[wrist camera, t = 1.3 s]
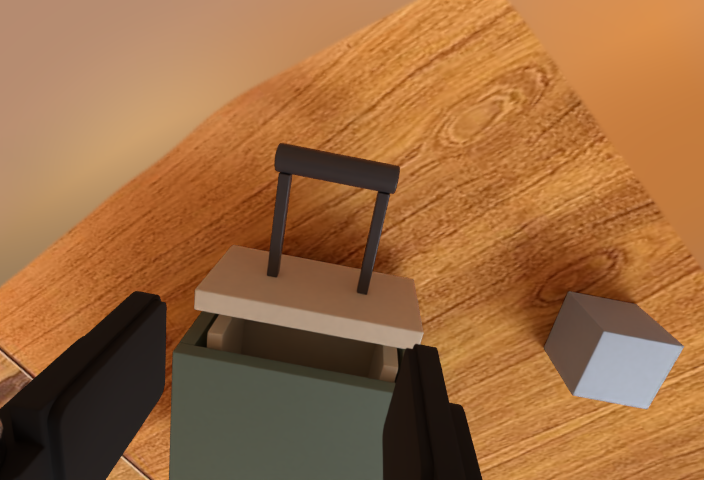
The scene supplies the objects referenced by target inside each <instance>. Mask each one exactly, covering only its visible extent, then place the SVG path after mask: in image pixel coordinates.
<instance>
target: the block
mask: <svg viewBox="0 0 704 480" xmlns="http://www.w3.org/2000/svg"><path fill="white" fill-rule="evenodd" d="M683 347H684V346H683V345H682V344H681V343H680V342H679V341H677V340H676V339H675V338H674V337H673V336H672V335H671V334H669V333H668V332H667V331H666V330H665V329H664V328H663V327H662V326H660V325H659V324H658V323H657V322H656V321H655V320H654V319H652V318H651V317H650V316H649V315H648V314H647V313H646V312H645V311H643V310H642V309H641V308H640V307H639V306H638V305H637V304H633V303H627V302H622V301H617V300H612V299H607V298H601V297H596V296H591V295H586V294H581V293H575V292H570V291H568V293H567V295H566V298H565V300H564V302H563V305H562V307H561V309H560V312H559V314H558V316H557V319H556V321H555V323H554V325H553V328H552V330H551V332H550V335H549V337H548V339H547V342H546V344H545V346H544V350H545V351H546V353H547V355H548V356H549V358H550V359H551V361H552V363H553V364H554V366H555V368H556V369H557V371H558V373H559V374H560V376H561V377H562V379H563V381H564V382H565V384H566V386H567V387H568V389H569V391H570V392H571V394H572V395H574V396H579V397H584V398H590V399H595V400H600V401H606V402H611V403H616V404H622V405H627V406H632V407H638V408H643V409H648V407H649V406H650V404H651V402H652V400H653V399H654V397H655V395H656V394H657V392H658V390H659V389H660V387H661V385H662V383H663V382H664V380H665V378H666V377H667V375H668V373H669V371H670V370H671V368H672V366H673V365H674V363H675V361H676V359H677V358H678V356H679V354H680V353H681V351H682V349H683Z"/></svg>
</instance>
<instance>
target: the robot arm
mask: <svg viewBox="0 0 704 480" xmlns="http://www.w3.org/2000/svg"><path fill="white" fill-rule="evenodd" d="M166 310H167V307H166V303H165V302H162V301H161V299H160V296H159V295H155V294H150V293H144V292H139V291H135V292H133V293H132V294H131V295H130V296H129V297H127V298H126V299H125V300H124V301H123V302H122V303H121V304H120V305H119V306H117V307H116V308H115V309H114V310H113V311H112V312H111V313H110V314H109V315H108V316H106V317H105V318H104V319H103V320H102V321H101V322H100V323H99V324H98V325H96V326H95V327H94V328H93V329H92V330H91V331H90V332H89V333H88V334H86V335H85V336H83V337H81V338H80V339H78V340H77V341H76V342H75V343H74V344H72V345H71V346H70V347H69V348H68V349H67V350H66V351H65V352H63V353H62V354H61V355H60V356H59V357H58V358H57V359H56V360H54V361H53V362H52V363H51V364H50V365H49V366H48V367H47V368H46V369H44V370H43V371H42V372H41V373H40V374H39V375H38V376H37V377H35V378H34V379H33V380H32V381H31V382H30V383H29V384H28V385H26V386H25V387H24V388H23V389H22V390H21V391H20V392H19V393H17V394H16V395H15V396H14V397H13V398H12V399H11V400H10V401H9V402H7V403H6V404H5V405H4V406H3V407H2V408H1V409H0V480H106V478H107V477H108V475H109V474H110V472H111V471H112V469H113V468H114V466H115V465H116V463H117V462H118V460H119V459H120V457H121V456H122V454H123V453H124V451H125V450H126V448H127V447H128V445H129V444H130V442H131V441H132V439H133V438H134V436H135V435H136V433H137V432H138V430H139V429H140V427H141V426H142V424H143V423H144V421H145V420H146V418H147V417H148V415H149V414H150V412H151V411H152V409H153V408H154V406H155V405H156V403H157V402H158V400H159V399H160V397H161V395H162V393H163V390H164V386H165V359H166ZM382 448H383V480H482V476H481V472H480V469H479V465H478V461H477V457H476V453H475V449H474V446H473V442H472V438H471V434H470V430H469V427H468V423H467V419H466V415H465V412H464V409H463V407H462V406H461V405H459V404H453V403H449V400H448V395H447V391H446V386H445V382H444V377H443V373H442V368H441V364H440V359H439V355H438V350H437V348H436V347H430V346H425V345H420V344H415V345H414V346H413V349H411V348H406V350H405V352H404V356H403V359H402V363H401V366H400V370H399V374H398V377H397V381H396V384H395V388H394V391H393V395H392V398H391V402H390V405H389V409H388V412H387V416H386V419H385V423H384V428H383V436H382Z"/></svg>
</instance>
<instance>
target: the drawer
mask: <svg viewBox="0 0 704 480" xmlns="http://www.w3.org/2000/svg"><path fill="white" fill-rule="evenodd" d="M275 170H276V171H278V172H280V173H279V177H278V185H277V194H276V202H275V210H274V218H273V226H272V235H271V243H270V251H269V252H268V251H263V250H258V249H253V248H247V247H242V246H237V245H232V246H231V247H230V248H229V250H228V251H227V252H226V253H225V254H224V255H223V257H222V258H221V259H220V260H219V261H218V263H217V264H216V265H215V266H214V267H213V269H212V270H211V271H210V272H209V273H208V274H207V276H206V277H205V278H204V279H203V280H202V282H201V283H200V284H199V285H198V286H197V288H196V289H195V298H194V309H195V310H200V311H206V312H211V313H216V314H219V316H218V317H217V319H216V320H215V322H214V323H213V325H212V326H211V328H210V330H209V331H208V335H207V348H210V349H215V350H221V351H226V352H232V353H237V354H242V355H248V356H253V357H258V358H264V359H269V360H274V361H280V362H285V363H290V364H296V365H301V366H307V367H312V368H317V369H323V370H328V371H333V372H339V373H344V374H349V375H355V376H360V377H365V378H371V379H376V380H381V381H387V382H392V383H394V381H395V378H396V374H397V371H398V358H397V348H402V349H406V348H411V349H413V346H414V345H415V344H420V343H421V340H422V336H423V328H422V322H421V317H420V311H419V306H418V300H417V295H416V290H415V284H414V280H413V279H409V278H404V277H399V276H394V275H388V274H383V273H378V272H373V267H374V263H375V258H376V254H377V249H378V245H379V241H380V236H381V232H382V227H383V223H384V219H385V214H386V210H387V206H388V201H389V197H390V194H394V193H395V191H396V187H397V183H398V179H399V173H400V167H399V166H396V165H391V164H386V163H381V162H376V161H371V160H366V159H361V158H355V157H350V156H345V155H340V154H335V153H330V152H325V151H320V150H315V149H310V148H305V147H300V146H294V145H289V144H284V143H280V144H279V145H278V148H277V151H276V155H275ZM292 174H293V175H298V176H303V177H308V178H313V179H319V180H324V181H329V182H334V183H339V184H344V185H349V186H354V187H360V188H365V189H370V190H375V191H378V193H377V197H376V202H375V207H374V211H373V216H372V221H371V225H370V230H369V235H368V239H367V244H366V248H365V253H364V258H363V262H362V267H361V269H357V268H352V267H347V266H341V265H336V264H331V263H326V262H321V261H315V260H310V259H305V258H300V257H294V256H289V255H284V254H282V249H283V241H284V234H285V226H286V219H287V212H288V204H289V197H290V189H291V182H292Z"/></svg>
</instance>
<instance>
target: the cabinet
mask: <svg viewBox="0 0 704 480" xmlns="http://www.w3.org/2000/svg"><path fill="white" fill-rule="evenodd" d="M218 316H219V314H216V313H211V312H206V311H202V312H201V314H200V315H199V316H198V318H197V319H196V320H195V322H194V323H193V325H192V326H191V327H190V329H189V330H188V331H187V333H186V334H185V335H184V337H183V338H182V340H181V341H180V343H179V344H178V345H177V347H176V348H175V349H174V351H173V360H172V394H171V429H170V463H169V480H383V448H382V436H383V428H384V423H385V419H386V416H387V412H388V409H389V405H390V402H391V398H392V395H393V391H394V388H395V384H396V381H397V377H398V374H399V370H400V366H401V363H402V359H403V356H404V352H405V350H406V349H402V348H397V358H398V371H397V374H396V378H395V381H394V383H392V382H387V381H381V380H376V379H371V378H365V377H360V376H355V375H349V374H344V373H339V372H333V371H328V370H323V369H317V368H312V367H307V366H301V365H296V364H290V363H285V362H280V361H274V360H269V359H264V358H258V357H253V356H248V355H242V354H237V353H232V352H226V351H221V350H215V349H210V348H207V335H208V331H209V330H210V328H211V326H212V325H213V323H214V322H215V320H216V319H217V317H218Z"/></svg>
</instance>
